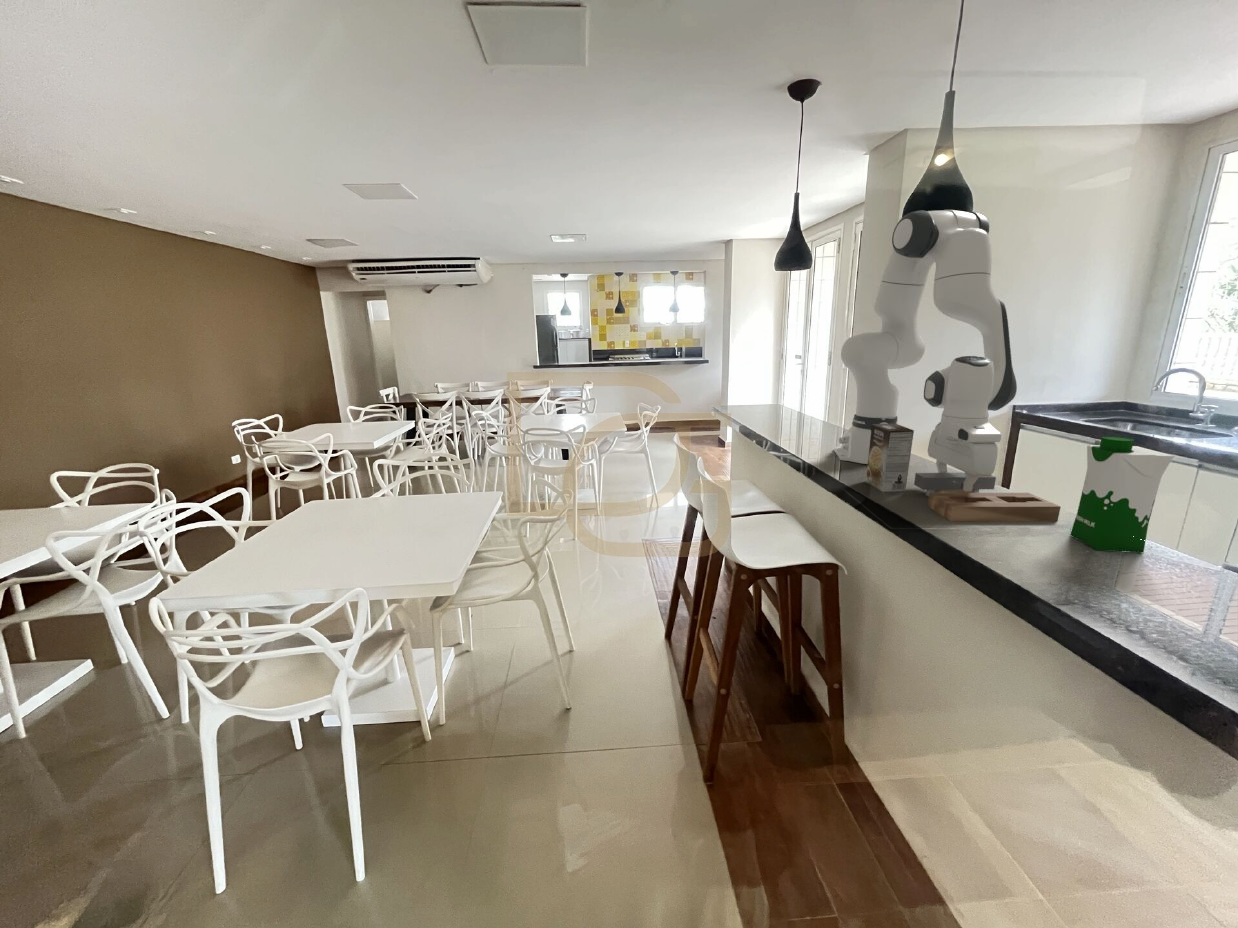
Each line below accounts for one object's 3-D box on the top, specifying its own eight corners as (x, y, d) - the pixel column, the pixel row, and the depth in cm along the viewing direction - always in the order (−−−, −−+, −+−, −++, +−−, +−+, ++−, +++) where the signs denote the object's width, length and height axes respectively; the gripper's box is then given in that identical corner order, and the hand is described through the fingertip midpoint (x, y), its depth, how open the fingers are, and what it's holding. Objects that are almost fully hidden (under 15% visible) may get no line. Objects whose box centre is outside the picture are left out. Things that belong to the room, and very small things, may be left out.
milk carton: (1061, 533, 94) (1083, 433, 88) (1115, 535, 92) (1142, 433, 87) (1094, 552, 85) (1121, 443, 80) (1155, 555, 83) (1186, 444, 78)
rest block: (932, 494, 117) (934, 485, 117) (963, 494, 117) (964, 484, 116) (939, 498, 114) (941, 488, 114) (970, 498, 114) (972, 488, 113)
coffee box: (864, 482, 129) (870, 423, 125) (888, 481, 129) (895, 423, 124) (881, 492, 120) (888, 430, 116) (907, 492, 120) (915, 429, 116)
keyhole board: (927, 507, 109) (929, 493, 108) (1025, 507, 107) (1027, 492, 106) (950, 522, 100) (952, 506, 99) (1057, 522, 99) (1060, 506, 98)
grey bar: (912, 493, 118) (915, 470, 116) (981, 492, 117) (985, 470, 115) (921, 498, 114) (924, 475, 113) (992, 498, 113) (996, 474, 111)
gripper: (924, 420, 121) (917, 472, 125) (976, 436, 102) (966, 498, 105) (950, 420, 121) (942, 472, 124) (1007, 436, 101) (996, 497, 105)
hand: (953, 484), depth 115 cm, fingers open, 8 cm apart
